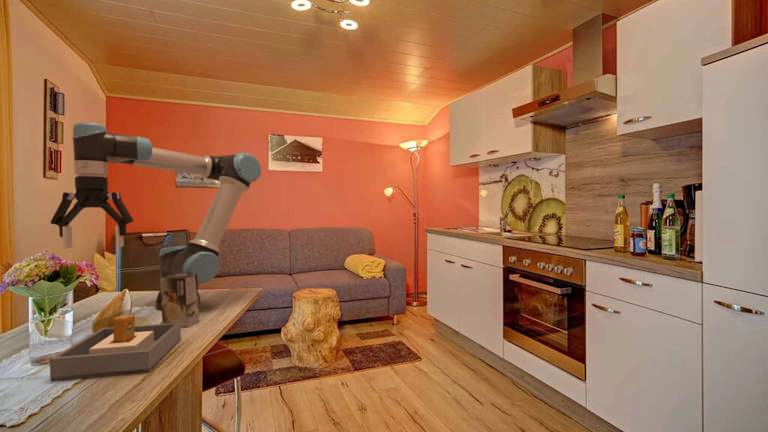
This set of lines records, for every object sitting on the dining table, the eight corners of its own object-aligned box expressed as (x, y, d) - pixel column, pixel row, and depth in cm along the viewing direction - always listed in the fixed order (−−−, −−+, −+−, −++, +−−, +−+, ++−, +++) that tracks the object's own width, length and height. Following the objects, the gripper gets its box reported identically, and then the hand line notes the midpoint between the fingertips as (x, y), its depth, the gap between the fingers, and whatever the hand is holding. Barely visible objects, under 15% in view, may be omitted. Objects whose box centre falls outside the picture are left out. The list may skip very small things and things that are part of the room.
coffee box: (200, 320, 119) (198, 273, 118) (187, 327, 112) (185, 277, 112) (174, 320, 120) (173, 273, 119) (160, 326, 113) (159, 277, 113)
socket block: (112, 348, 95) (112, 333, 94) (154, 345, 97) (153, 330, 96) (89, 365, 85) (89, 349, 85) (136, 361, 87) (135, 345, 87)
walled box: (102, 345, 98) (102, 328, 98) (180, 339, 102) (180, 322, 102) (50, 381, 79) (49, 359, 79) (149, 372, 83) (148, 351, 83)
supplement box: (125, 357, 89) (123, 318, 88) (113, 356, 89) (111, 318, 89) (136, 352, 92) (135, 314, 92) (124, 351, 93) (123, 313, 92)
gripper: (32, 174, 98) (35, 250, 99) (132, 175, 103) (134, 247, 104) (51, 176, 105) (54, 247, 106) (144, 177, 110) (146, 244, 111)
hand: (94, 247), depth 105 cm, fingers open, 13 cm apart
